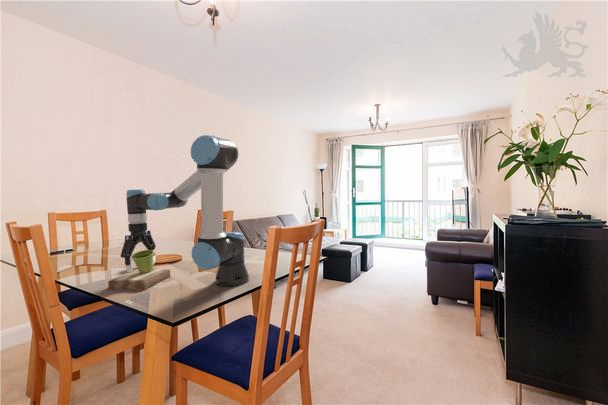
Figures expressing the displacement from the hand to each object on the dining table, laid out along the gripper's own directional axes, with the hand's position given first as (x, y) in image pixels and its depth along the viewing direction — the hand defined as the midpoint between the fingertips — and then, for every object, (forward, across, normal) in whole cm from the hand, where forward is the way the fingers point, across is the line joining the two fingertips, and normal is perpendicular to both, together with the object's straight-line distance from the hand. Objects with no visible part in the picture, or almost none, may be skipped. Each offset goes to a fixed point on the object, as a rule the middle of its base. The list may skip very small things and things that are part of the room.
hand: (140, 267), depth 134 cm
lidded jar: (+7, -23, -15) cm, 28 cm away
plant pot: (+3, -4, 0) cm, 5 cm away
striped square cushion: (+7, 0, 0) cm, 7 cm away
